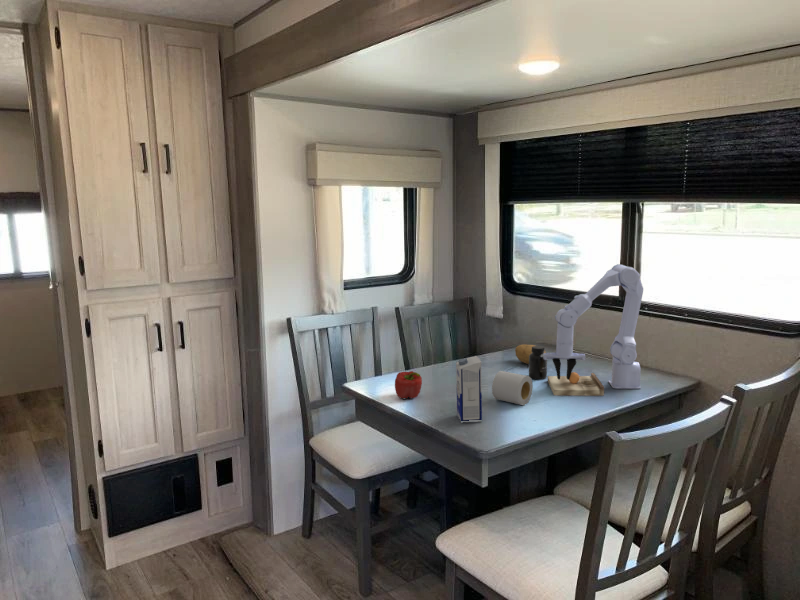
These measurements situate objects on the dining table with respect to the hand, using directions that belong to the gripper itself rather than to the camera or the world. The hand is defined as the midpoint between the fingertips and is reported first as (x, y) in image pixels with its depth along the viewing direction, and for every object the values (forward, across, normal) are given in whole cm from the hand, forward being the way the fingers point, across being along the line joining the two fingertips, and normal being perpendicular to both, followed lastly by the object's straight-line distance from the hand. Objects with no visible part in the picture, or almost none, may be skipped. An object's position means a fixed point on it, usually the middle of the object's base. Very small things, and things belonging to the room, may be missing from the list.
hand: (563, 378), depth 214 cm
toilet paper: (+4, +19, +14) cm, 24 cm away
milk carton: (+5, +34, +30) cm, 46 cm away
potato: (+4, +8, -31) cm, 32 cm away
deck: (+3, -4, 0) cm, 5 cm away
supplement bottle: (+4, +7, -13) cm, 16 cm away
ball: (0, -4, 0) cm, 4 cm away
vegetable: (+5, +55, +10) cm, 56 cm away
